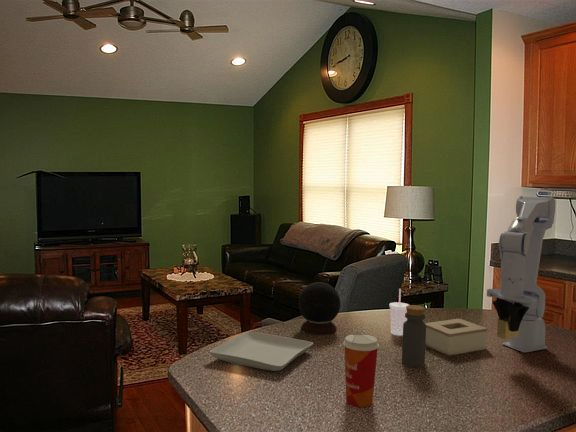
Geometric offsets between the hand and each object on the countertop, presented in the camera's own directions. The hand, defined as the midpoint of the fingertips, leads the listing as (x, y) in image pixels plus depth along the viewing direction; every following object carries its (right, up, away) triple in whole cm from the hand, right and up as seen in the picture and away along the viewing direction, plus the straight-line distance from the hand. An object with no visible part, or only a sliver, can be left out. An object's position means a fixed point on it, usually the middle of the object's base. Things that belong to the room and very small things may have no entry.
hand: (509, 329), depth 140 cm
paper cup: (-42, -11, -24) cm, 50 cm away
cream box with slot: (-10, -8, +14) cm, 19 cm away
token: (0, -2, 0) cm, 2 cm away
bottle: (-25, -9, 0) cm, 27 cm away
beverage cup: (-24, -7, +26) cm, 36 cm away
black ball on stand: (-48, -6, +28) cm, 56 cm away
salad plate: (-65, -9, +3) cm, 65 cm away
